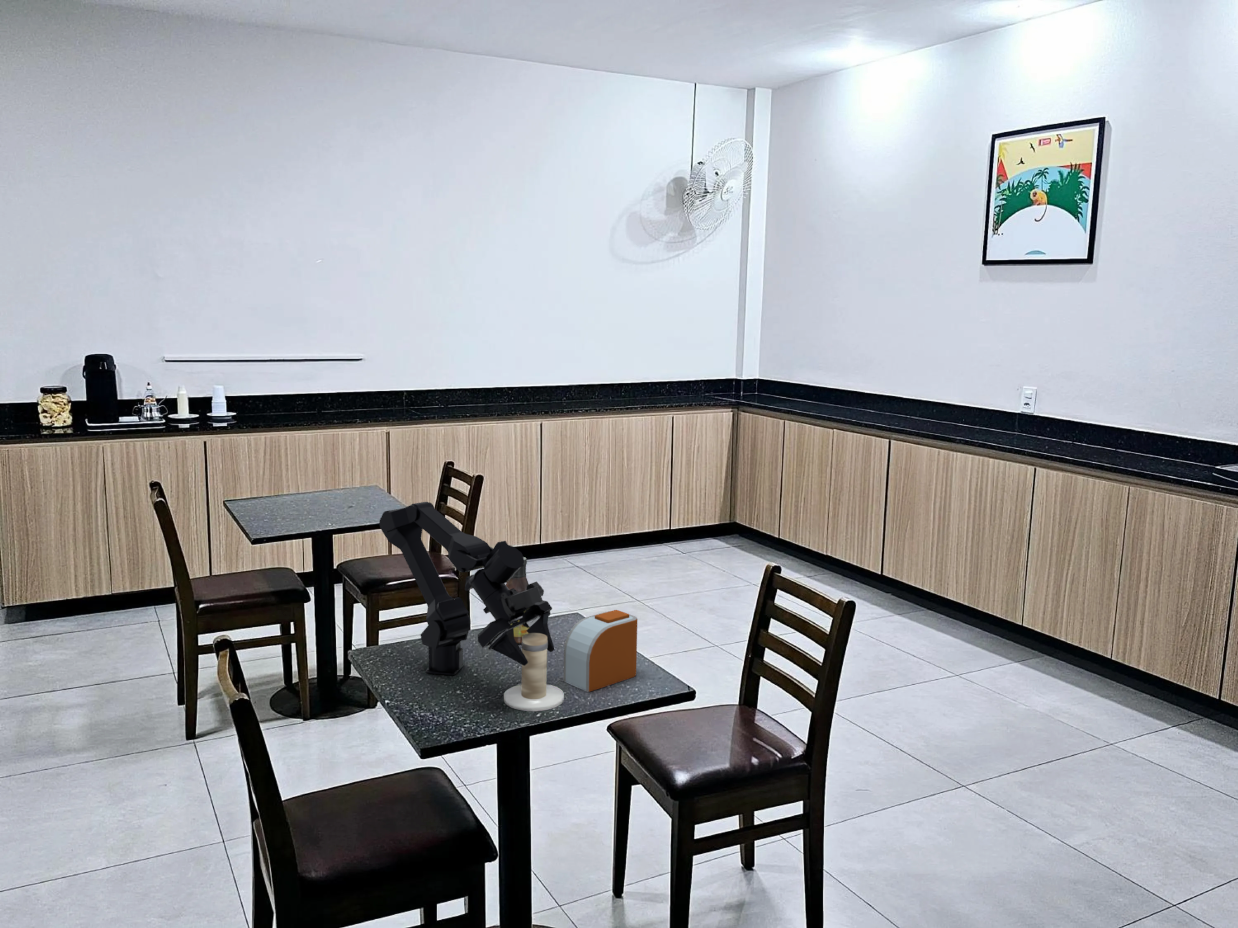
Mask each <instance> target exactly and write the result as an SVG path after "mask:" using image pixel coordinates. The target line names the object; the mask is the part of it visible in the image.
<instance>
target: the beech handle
mask: <svg viewBox="0 0 1238 928" xmlns="http://www.w3.org/2000/svg"><path fill="white" fill-rule="evenodd" d="M547 648H548V640H547V636H546V635H544V634H541V633H529V634H525V635H523V636H522V643H521V650H522V652H523V654H524V655H525V657H526V659H527V661H528V664H526V665H525V666H523V665H522V664H521V683H520V685H521V695H522V696H523V697H524V698H527V699H540V698H543V697H545V696H546V684H547V681H548V680H547V678H548V676H547V670H548V650H547Z"/></svg>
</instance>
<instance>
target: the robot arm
mask: <svg viewBox="0 0 1238 928" xmlns="http://www.w3.org/2000/svg"><path fill="white" fill-rule="evenodd" d="M378 525H379V528H380V530H381V532H382V534H383V535H384V536H385V538H386V540H387V541H388V542H389V543H390V544H391V545H392V546H395V547H396V548H397V549H399V550H400V552H401V554H402V556H403V558H404V560H405V562H406V564H407V565H408V568H409V570H410V572H411V575H412V576H413V579H414V580H415V582H416V585H417V586H418V589H419V590H420V591H419V592H421V595H422V598H423V600H424V601H425V603H426V606H427V610H426V620H425V621H426V623H427V626H426V627H425V628H424V630H423V631H422V632H421V633H420V640H421V643H422V645H424V646H427V647H428V649H427V651H428V652H427V653H428V655H427V656H428V667H427V669H425V673H426V674H432V675H433V674H435V675H445V676H446V675H447V676H455V675H456V674H457V673H458V672H459V671H460V670H461V669H462V668H463V666H464V648H463V647H462V646H461V645H462V644H461V643H462V641H466V640H468V639H467V638H468V636H469V632H470V631H469V630H470V628H471V627H470V626H471V625H472V624H471V622H472V621H471V617H470V615H469V613H470V611H469V610H468V609H467V608H466V606H465V603H464V601H463V599H462V598H461V597H460V596H459V597H455V598H454V597H452V596H451V595H449V592H448V591H447V588H446V586H445V585H444V583H443V581H442V578H441V577H440V575H439V572H438V571H437V568H436V566H435V564H434V562H433V559H432V558H431V557H430V556H431V555H430V554H429V552H428V550H427V548H426V546H425V544H424V542H423V540H422V537H423V531H425V532H426V533H427V534H428V535H429V536H430V537H432V539H433V540H435V542H437V543H439V545H440V546H441V547H443V548H444V549H445V550H446V552H447V555H448V561H450V563H451V564H452V565H453V566H454V568H456V570H457V571H458V572H460V573H468V572H472V571H475V573H474V574H471V575H468V576H466V577H465V585H464V590H465V591H466V592H468V591H470V590H474V591H475V593H476V594H477V596H478V597H479V598H480V600H481V601H482V603H483V604H484V606H485V608H483V609H482V610H483V613H485V615H487V614H489V613H490V614H491V616H492V617H493V618H494V620H493V621H490V622H489V623H488V624H487V625H486V626H485V627H484V628H482V630H481V631H480V632H479V633H478V634H477V642H478V644H479V645H480V646H481V648H482V649H485V648H487V649H488V650H489V651H490V650H493V651H495V652H497V653H498V654H499V653H500V654H501V655H503V656H505V657H507V658H509V659H511V660H513V661H514V662H516V663H518V664H519V665H521V666H522V665H523V666H525V665H526V664H528V661H527V659H526V657H525V655H524V654H523V652H522V648H521V647H520V645H519V644H517V643H516V641H515V639H514V629H513V628H516V627H518V626H520V625H523V626H525V627H527V628H529V627H530V628H529V629H527V630H526V631H527V632H528V633H541V634H544V635H546V636H547V640H548V648H547V652H548V651H549V652H550V653H552V652H554V650H555V645H554V642H553V639H552V635H551V632H550V629H549V624H548V622H549V618H550V616H551V614H552V613H551V611H552V610H553V607H552V606H551V604H550V603H549V601H547V600H543V596H544V593H545V590H544V589H543V587H542V586H541V585H540V583H538V581H534V582H531V583H529V584H528V585H527V588H526V590H525V591H523V592H520V593H518V592H517V591H516V589H514V588H513V589H510V590H509V589H508V587H507V586H506V583H507V582H508V581H509V580H510V579H511V578H512V577H513V575H514V574H515V573H516V572H517V571H518V570H519V569H520V568H521V566H522V565H523V563H524V556H523V553H522V551H520V550H519V549H518V548H516V547H515V546H512V545H510V544H508V542H507V541H506V540H500V541H497V542H496V543H495V544H494V547H491V546H490V545H489V544H488V542H487V541H485V540H483V539H482V538H480V537H478V536H476V535H471V534H469V533H465V532H463V531H461V529H460V528H458V527H457V526H456V525H455V524H453V523H452V521H450V520H449V519H447V518H446V517H445V516H444V515H443V514H442V513H440V511H438V510H437V509H436V508H435V507H434V504H433V503H432V502H429V501H423V502H416V503H412V504H410V505H408V506H406V507H402V508H397V509H390V510H385V511H384V512H383V513H382V515H381V517H380V519H379V524H378ZM524 611H525V612H524ZM511 624H512V625H511Z"/></svg>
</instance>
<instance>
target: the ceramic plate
mask: <svg viewBox="0 0 1238 928" xmlns="http://www.w3.org/2000/svg"><path fill="white" fill-rule="evenodd" d="M564 698H565V694H564V691H563V690H562V689H561V688H559V687H557V686H556V685H551V684H548V683H546V696H545V697H543V698H540V699H527V698H524V697H523V696H522V695H521V684H518V685H514V686H512V687H510V688H508V689H506V690H505V692H504V693H503V702H504V704H505V705H506V706H508V707H510V708H511V709H514V710H517V711H525V712H541V711H547V710H552V709H554V708H557V707H559V706H560V705H562V704H563V703H564Z"/></svg>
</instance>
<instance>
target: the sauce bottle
mask: <svg viewBox="0 0 1238 928" xmlns="http://www.w3.org/2000/svg"><path fill="white" fill-rule="evenodd" d="M523 557H524V556H523ZM527 564H528V561H527V558H526V557H524V563H523V565H522V566H521V568H520V569H519V570H518V571H517V572H516V573H515V574H514V575H513V577H512V578H511V579H510V580H509V581H508V582H506V583H505V585H506V586H507V587H508V589H509V590H510V589H513V588H514V589H516V591H517V592H518V593H520V592H523V591H525V590H526V588H527V585H528V584H530V583H529V580H528V578H527ZM524 612H525V611H524ZM511 625H512V624H511ZM529 628H530V627H529ZM529 628H527V627H525V626H523V625H520V626H518V627H516V628H513V629H514V639H515V641H516V643H517V644H518V645H519V644H522V636H523V635H525V634H529V633H528V632H527V631H526V630H527V629H529Z"/></svg>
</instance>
